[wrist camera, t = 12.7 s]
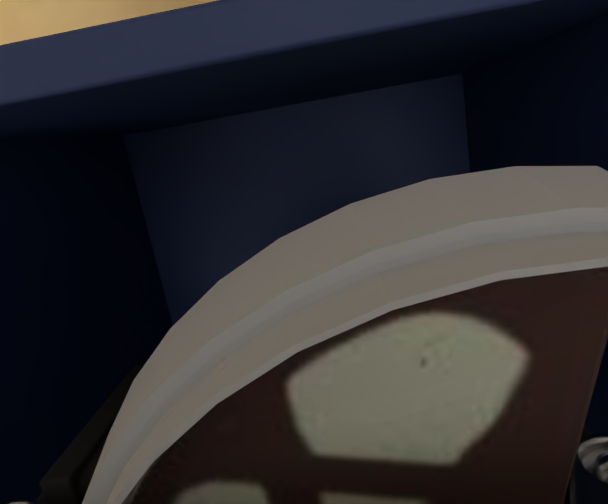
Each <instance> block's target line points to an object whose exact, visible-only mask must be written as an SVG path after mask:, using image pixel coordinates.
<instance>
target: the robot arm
mask: <svg viewBox="0 0 608 504" xmlns="http://www.w3.org/2000/svg"><path fill="white" fill-rule="evenodd" d="M144 365H145V364H141V365H135V366H134V367H133V368H132V369H131V370H130V372H129V373H128V374H127V375H126V376H125V378H124V379H123V380H122V381H121V383H120V384H119V385H118V386H117V388H116V389H115V390H114V391H113V392H112V394H111V395H110V396H109V397H108V399H107V400H106V401H105V402H104V403H103V405H102V406H101V407H100V408H99V410H98V411H97V412H96V413H95V414H94V416H93V417H92V418H91V419H90V421H89V422H88V423H87V424H86V425H85V427H84V428H83V429H82V430H81V432H80V433H79V434H78V435H77V436H76V438H75V439H74V440H73V441H72V443H71V444H70V445H69V446H68V447H67V449H66V450H65V451H64V452H63V454H62V455H61V456H60V457H59V459H58V460H57V461H56V462H55V463H54V465H53V466H52V467H51V468H50V470H49V471H48V472H47V473H46V474H45V476H44V477H43V478H42V479H41V481H40V482H39V483H40V486H41V488H42V491H43V492H42V493H41V494H40V496H39V497H38V498H37V499H36V501H35V500H34V499H30V498H18V499H13V500H10V501H6V502H3V503H1V504H82V503H83V500H84V497H85V495H86V492H87V489H88V487H89V484H90V482H91V479H92V476H93V474H94V471H95V468H96V466H97V463H98V461H99V458H100V455H101V453H102V450H103V447H104V445H105V442H106V440H107V437H108V434H109V432H110V430H111V428H112V426H113V423H114V421H115V419H116V417H117V415H118V413H119V410H120V408H121V406H122V404H123V402H124V400H125V398H126V395H127V393H128V391H129V389H130V387H131V385H132V382H133V380H134V379H135V378H136V376H137V375H138V373H139V372H140V371H141V369H142V368H143V366H144ZM564 504H608V434H606V433H600V434H592V433H591V432H590V431H589V430H588V429H587V427H586V426H585V425H584V427H583V431H582V435H581V439H580V442H579V446H578V450H577V454H576V457H575V461H574V465H573V469H572V472H571V476H570V480H569V484H568V487H567V491H566V495H565V499H564Z"/></svg>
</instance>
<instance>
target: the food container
mask: <svg viewBox="0 0 608 504" xmlns="http://www.w3.org/2000/svg"><path fill="white" fill-rule="evenodd" d="M607 339H608V171H606V170H604V169H602V168H600V167H598V166H513V167H506V168H500V169H493V170H486V171H480V172H473V173H466V174H460V175H453V176H446V177H440V178H433V179H428V180H425V181H422V182H419V183H415V184H412V185H409V186H406V187H402V188H399V189H396V190H393V191H390V192H386V193H383V194H380V195H377V196H373V197H370V198H367V199H364V200H360V201H357V202H354V203H351V204H349V205H347V206H345V207H342V208H340V209H338V210H336V211H334V212H332V213H330V214H328V215H326V216H324V217H322V218H320V219H318V220H316V221H314V222H312V223H310V224H308V225H305V226H303V227H301V228H299V229H297V230H295V231H293V232H291V233H289V234H287V235H285V236H283V237H281V238H279V239H278V240H276V241H275V242H273V243H272V244H270V245H269V246H268V247H266V248H265V249H263V250H262V251H260V252H259V253H258V254H256V255H255V256H253V257H252V258H251V259H249V260H248V261H246V262H245V263H243V264H242V265H241V266H239V267H238V268H236V269H235V270H233V271H232V272H231V273H229V274H228V275H226V276H225V277H223V278H222V279H221V280H219V281H218V282H217V283H216V284H215V285H214V286H213V287H212V288H211V289H210V290H209V291H208V292H207V293H206V294H205V295H204V296H203V297H202V298H201V299H200V300H199V301H198V302H197V303H196V304H195V305H194V306H193V307H192V308H191V309H190V310H189V311H188V312H187V313H186V314H185V315H184V316H183V317H182V318H181V319H180V320H179V321H178V322H177V323H175V324H174V325H173V326H172V327H171V328H170V330H169V331H168V332H167V334H166V335H165V337H164V338H163V340H162V341H161V342H160V344H159V345H158V347H157V348H156V349H155V351H154V352H153V354H152V355H151V356H150V358H149V359H148V361H147V362H146V363H145V365H144V366H143V368H142V369H141V371H140V372H139V373H138V375H137V376H136V378H135V379H134V380H133V382H132V385H131V387H130V389H129V391H128V393H127V395H126V398H125V400H124V402H123V404H122V406H121V408H120V410H119V413H118V415H117V417H116V419H115V421H114V423H113V426H112V428H111V430H110V432H109V434H108V437H107V440H106V442H105V445H104V447H103V450H102V453H101V455H100V458H99V461H98V463H97V466H96V468H95V471H94V474H93V476H92V479H91V482H90V484H89V487H88V489H87V492H86V495H85V497H84V500H83V503H82V504H564V499H565V495H566V491H567V487H568V484H569V480H570V476H571V472H572V469H573V465H574V461H575V457H576V454H577V450H578V446H579V442H580V439H581V435H582V431H583V427H584V424H585V420H586V416H587V412H588V409H589V405H590V401H591V397H592V394H593V390H594V386H595V382H596V379H597V375H598V371H599V367H600V364H601V360H602V357H603V353H604V350H605V346H606V343H607Z"/></svg>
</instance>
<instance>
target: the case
mask: <svg viewBox="0 0 608 504" xmlns="http://www.w3.org/2000/svg"><path fill="white" fill-rule="evenodd" d="M513 166H598V167H600V168H602V169H604V170H606V171H608V0H218V1H213V2H209V3H204V4H199V5H194V6H189V7H184V8H180V9H175V10H170V11H165V12H160V13H155V14H150V15H146V16H141V17H136V18H131V19H126V20H121V21H116V22H112V23H107V24H102V25H97V26H92V27H87V28H82V29H78V30H73V31H68V32H63V33H58V34H53V35H49V36H44V37H39V38H34V39H29V40H24V41H19V42H15V43H10V44H5V45H0V504H1V503H3V502H6V501H10V500H13V499H18V498H30V499H34V500H35V501H36V499H37V498H38V497H39V496H40V494H41V493H42V492H43V491H42V488H41V486H40V483H39V482H40V481H41V479H42V478H43V477H44V476H45V474H46V473H47V472H48V471H49V470H50V468H51V467H52V466H53V465H54V463H55V462H56V461H57V460H58V459H59V457H60V456H61V455H62V454H63V452H64V451H65V450H66V449H67V447H68V446H69V445H70V444H71V443H72V441H73V440H74V439H75V438H76V436H77V435H78V434H79V433H80V432H81V430H82V429H83V428H84V427H85V425H86V424H87V423H88V422H89V421H90V419H91V418H92V417H93V416H94V414H95V413H96V412H97V411H98V410H99V408H100V407H101V406H102V405H103V403H104V402H105V401H106V400H107V399H108V397H109V396H110V395H111V394H112V392H113V391H114V390H115V389H116V388H117V386H118V385H119V384H120V383H121V381H122V380H123V379H124V378H125V376H126V375H127V374H128V373H129V372H130V370H131V369H132V368H133V367H134V366H135V365H141V364H145V363H146V362H147V361H148V359H149V358H150V356H151V355H152V354H153V352H154V351H155V349H156V348H157V347H158V345H159V344H160V342H161V341H162V340H163V338H164V337H165V335H166V334H167V332H168V331H169V330H170V328H171V327H172V326H173V325H174V324H175V323H177V322H178V321H179V320H180V319H181V318H182V317H183V316H184V315H185V314H186V313H187V312H188V311H189V310H190V309H191V308H192V307H193V306H194V305H195V304H196V303H197V302H198V301H199V300H200V299H201V298H202V297H203V296H204V295H205V294H206V293H207V292H208V291H209V290H210V289H211V288H212V287H213V286H214V285H215V284H216V283H217V282H218V281H219V280H221V279H222V278H223V277H225V276H226V275H228V274H229V273H231V272H232V271H233V270H235V269H236V268H238V267H239V266H241V265H242V264H243V263H245V262H246V261H248V260H249V259H251V258H252V257H253V256H255V255H256V254H258V253H259V252H260V251H262V250H263V249H265V248H266V247H268V246H269V245H270V244H272V243H273V242H275V241H276V240H278V239H279V238H281V237H283V236H285V235H287V234H289V233H291V232H293V231H295V230H297V229H299V228H301V227H303V226H305V225H308V224H310V223H312V222H314V221H316V220H318V219H320V218H322V217H324V216H326V215H328V214H330V213H332V212H334V211H336V210H338V209H340V208H342V207H345V206H347V205H349V204H351V203H354V202H357V201H360V200H364V199H367V198H370V197H373V196H377V195H380V194H383V193H386V192H390V191H393V190H396V189H399V188H402V187H406V186H409V185H412V184H415V183H419V182H422V181H425V180H428V179H433V178H440V177H446V176H453V175H460V174H466V173H473V172H480V171H486V170H493V169H500V168H506V167H513ZM584 425H585V426H586V427H587V429H588V430H589V431H590V432H591V433H592V434H600V433H606V434H608V339H607V343H606V346H605V350H604V353H603V357H602V360H601V364H600V367H599V371H598V375H597V379H596V382H595V386H594V390H593V394H592V397H591V401H590V405H589V409H588V412H587V416H586V420H585V424H584Z"/></svg>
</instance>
